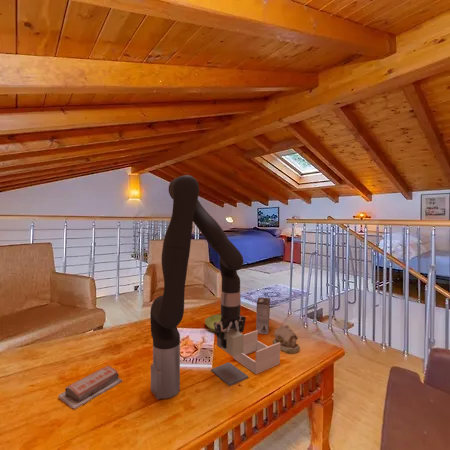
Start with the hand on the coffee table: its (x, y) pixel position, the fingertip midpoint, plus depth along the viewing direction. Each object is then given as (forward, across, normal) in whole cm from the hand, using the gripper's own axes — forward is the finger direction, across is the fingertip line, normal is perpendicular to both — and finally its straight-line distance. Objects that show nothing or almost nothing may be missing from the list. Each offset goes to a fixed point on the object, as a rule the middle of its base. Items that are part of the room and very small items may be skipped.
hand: (229, 345), depth 111 cm
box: (+1, 0, 0) cm, 1 cm away
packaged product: (+12, -45, +20) cm, 51 cm away
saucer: (+12, +24, +36) cm, 45 cm away
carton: (+12, +15, +1) cm, 19 cm away
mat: (+12, 0, 0) cm, 12 cm away
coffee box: (+12, +38, +21) cm, 45 cm away
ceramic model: (+12, +35, +2) cm, 37 cm away
